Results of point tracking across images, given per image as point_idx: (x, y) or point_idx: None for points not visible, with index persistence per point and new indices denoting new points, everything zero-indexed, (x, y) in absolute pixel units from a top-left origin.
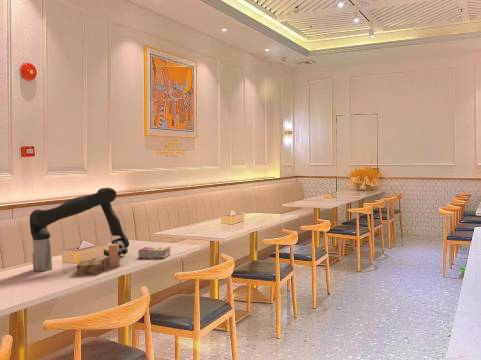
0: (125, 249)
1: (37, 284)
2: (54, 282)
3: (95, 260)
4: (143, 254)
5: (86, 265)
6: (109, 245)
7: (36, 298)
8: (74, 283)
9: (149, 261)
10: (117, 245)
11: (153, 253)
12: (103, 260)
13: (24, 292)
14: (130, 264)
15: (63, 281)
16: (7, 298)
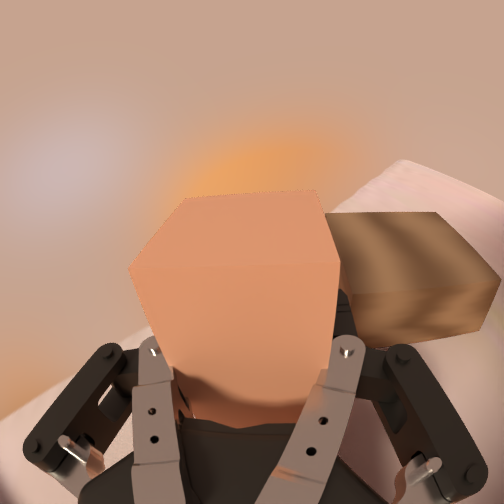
0: (75, 375)
1: (469, 208)
2: (440, 212)
3: (410, 278)
4: None
5: (394, 213)
6: (303, 197)
7: (389, 167)
8: (371, 200)
9: (6, 429)
10: (187, 201)
11: None
12: (349, 290)
13: (442, 183)
14: (127, 420)
15: None
16: (441, 174)
